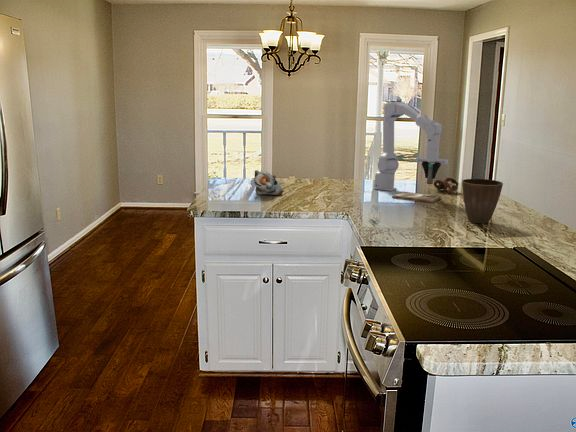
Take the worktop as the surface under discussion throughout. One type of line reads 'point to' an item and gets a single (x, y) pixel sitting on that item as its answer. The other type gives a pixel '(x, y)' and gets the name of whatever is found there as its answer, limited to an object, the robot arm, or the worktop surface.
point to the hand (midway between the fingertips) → (430, 178)
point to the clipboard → (417, 197)
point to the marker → (430, 174)
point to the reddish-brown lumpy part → (446, 185)
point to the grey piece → (267, 183)
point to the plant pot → (480, 198)
